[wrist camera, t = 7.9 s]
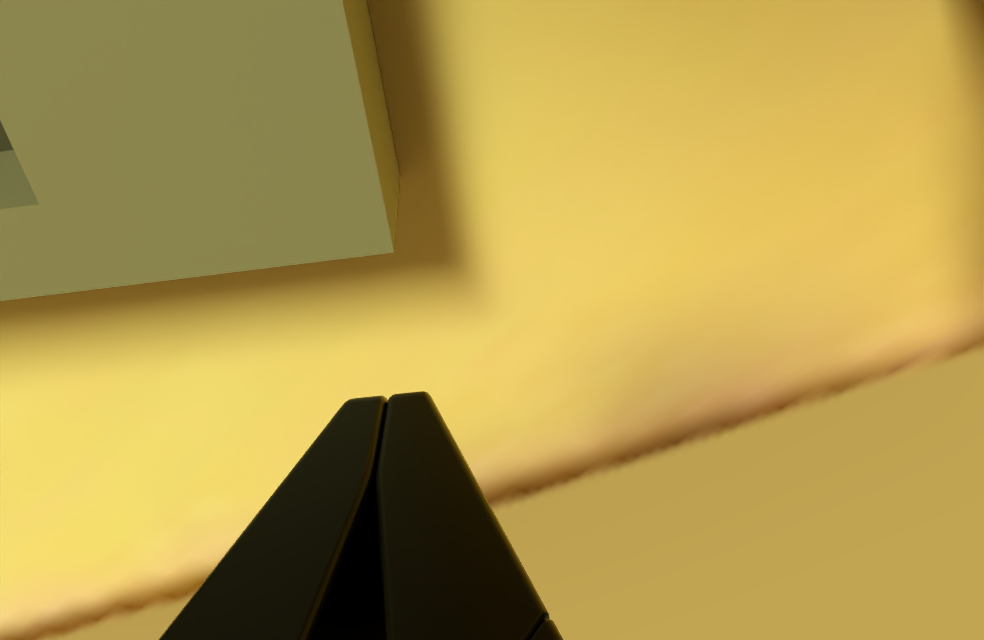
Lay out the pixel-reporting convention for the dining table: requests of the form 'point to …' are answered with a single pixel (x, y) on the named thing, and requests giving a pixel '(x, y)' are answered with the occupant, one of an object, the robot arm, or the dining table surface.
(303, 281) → the dining table surface
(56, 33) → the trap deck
